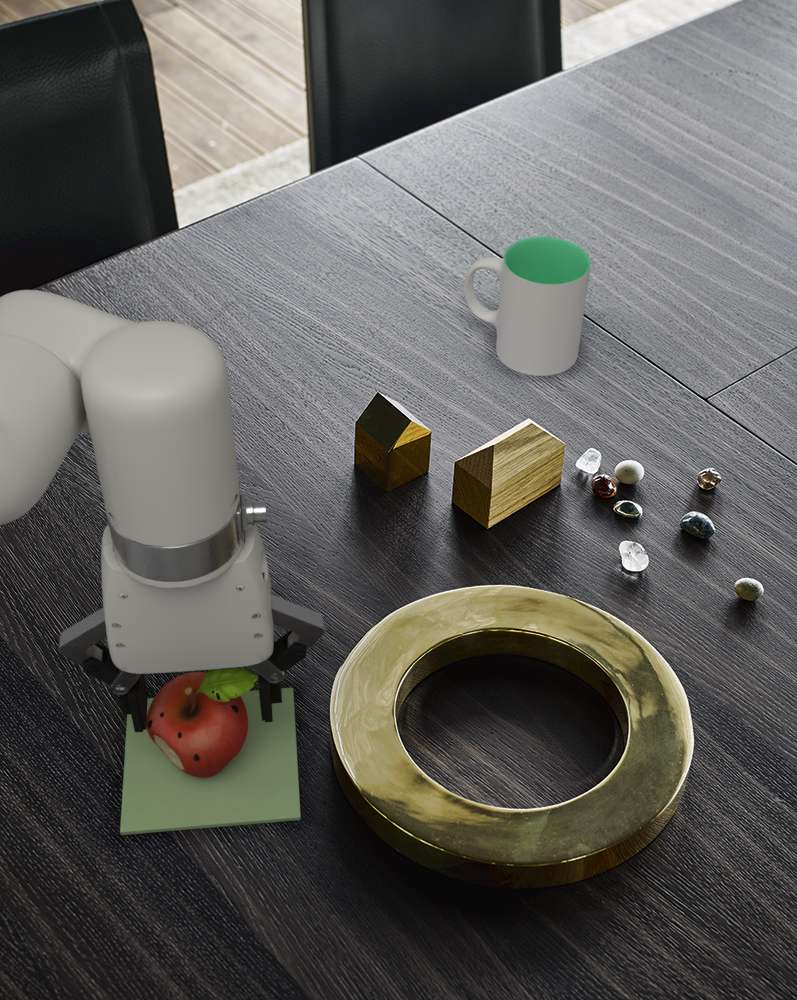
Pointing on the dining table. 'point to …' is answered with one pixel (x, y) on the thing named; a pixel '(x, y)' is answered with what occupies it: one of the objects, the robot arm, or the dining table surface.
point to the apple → (201, 719)
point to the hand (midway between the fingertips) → (204, 709)
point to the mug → (536, 303)
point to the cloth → (215, 778)
